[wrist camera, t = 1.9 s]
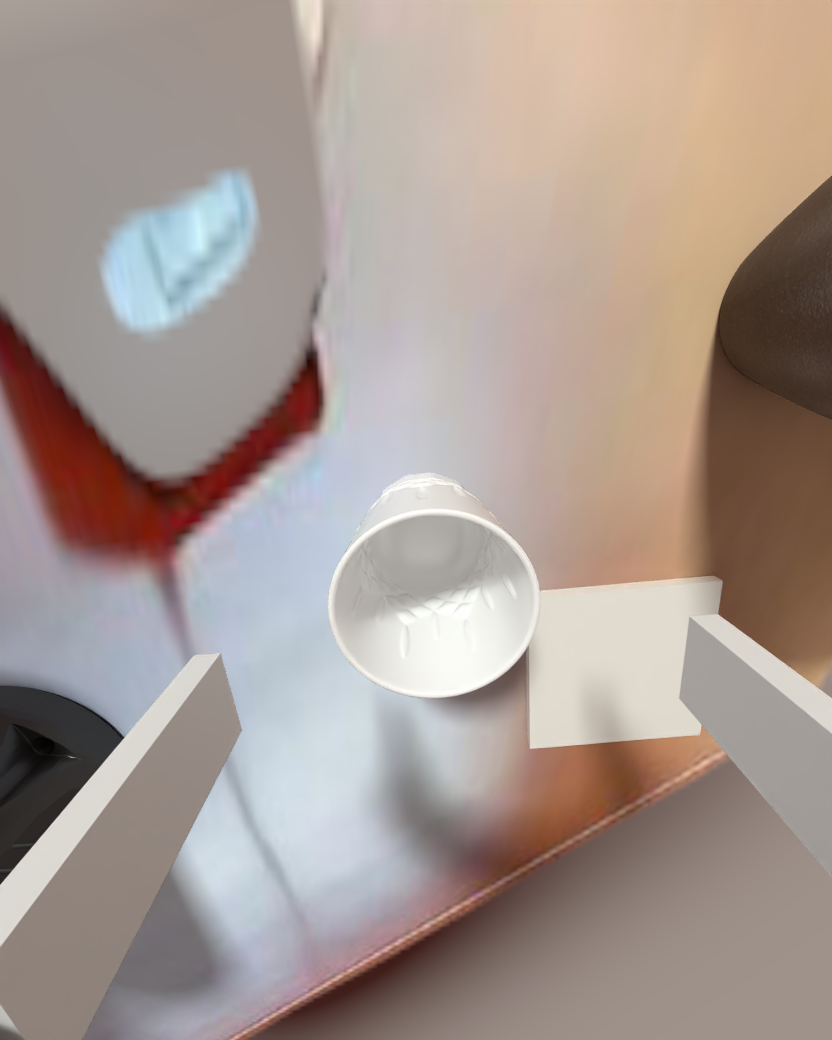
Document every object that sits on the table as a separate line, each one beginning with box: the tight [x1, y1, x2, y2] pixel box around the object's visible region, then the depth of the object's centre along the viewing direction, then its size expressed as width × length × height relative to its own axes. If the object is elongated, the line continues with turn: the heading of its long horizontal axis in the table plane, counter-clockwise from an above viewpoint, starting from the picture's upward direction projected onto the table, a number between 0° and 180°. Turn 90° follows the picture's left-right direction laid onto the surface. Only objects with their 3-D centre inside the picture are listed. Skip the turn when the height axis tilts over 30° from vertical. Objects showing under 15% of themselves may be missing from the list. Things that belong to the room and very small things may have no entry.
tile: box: [526, 575, 723, 749], centre depth 27 cm, size 12×12×1 cm
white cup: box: [328, 472, 540, 698], centre depth 20 cm, size 8×8×10 cm
